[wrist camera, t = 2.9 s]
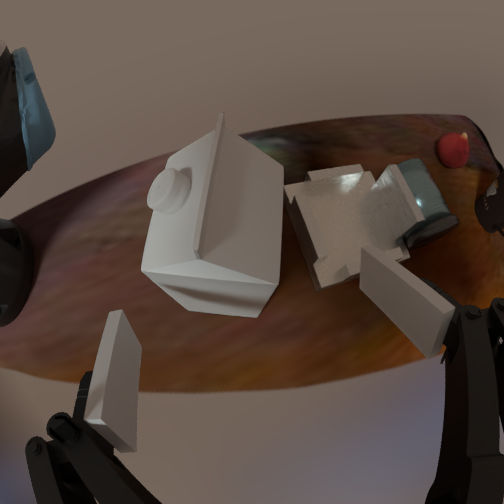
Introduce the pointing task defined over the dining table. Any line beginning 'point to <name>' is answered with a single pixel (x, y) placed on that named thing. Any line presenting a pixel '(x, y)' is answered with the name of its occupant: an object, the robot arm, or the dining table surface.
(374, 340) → the dining table surface
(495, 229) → the coffee mug
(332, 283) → the motor
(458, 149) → the onion
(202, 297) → the milk carton
